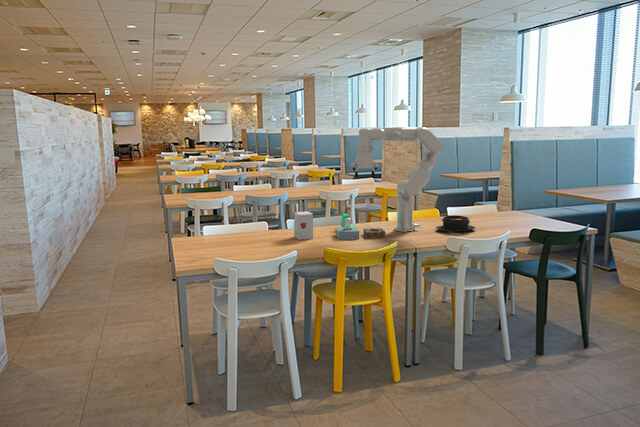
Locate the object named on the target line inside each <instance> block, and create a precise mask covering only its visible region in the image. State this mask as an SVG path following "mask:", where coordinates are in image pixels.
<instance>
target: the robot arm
mask: <svg viewBox="0 0 640 427" xmlns="http://www.w3.org/2000/svg"><path fill="white" fill-rule="evenodd" d="M372 141H374V142H375V141H376V142H381V141H391V142H399V143H400V142H409V143H410V142H418V143H419V142H421V144H423V157H422V159H421V160H420V161H418V163H417V164H416V165H415V166H414V168H412V170H411V171H410V173H409V178H410V179H401V180H400V181H399V182H397V185H396V193H397V194H396V196H397V205H396V206H397V208H396V213H397V214H396V226H395V227H394V231H395V232H401V233H402V232H403V233H408V232H407V231H411V232H414V231H415V228H420V227H421V224H420V223H414V222H413V221H414V220H413V218H414V217H413V215H414V212H413V211H414V197H415V196H416V195H418V194H419V193H420V192H421V190H423V188H424V187H425V186H426V185H427V184H428V183H429V182H430V180H431V177H432V176H431V171H432V169H433V168H434V167H435V166H436V163H437V160H438V155H441V154H442V152H443V151H444V144H443V143H442V142H441V140H440V139H439V138H438V137H437V136H436V135H435V134H434V133H433V132H432V131H430V129H429V128H426V127H422V126H421V127H419V126H418V127H415V126H414V127H407V126H406V127H403V126H402V127H399V126H398V127H388V128H387V127H384V128H383V127H381V128H380V127H374V128H361V129H359V130H358V151H357V152H356V158H355V161H354V162H352V163H350V167H351V169H352V170H353V172H354V177H355V179H358V177H359V175H358V174H359V172H358V171H359V170H360V169H361V170H362V169H363V170H364V169H369V170H371V178H372V179H374V177H375V173H376V171H377V170H378V168H379V166H380V163H378V162H376V161H374V155H373V154H374V153H373V150H375V149H374V148H375V147H372ZM374 165H375V167H374ZM354 166H356V167H354ZM413 230H414V231H413Z"/></svg>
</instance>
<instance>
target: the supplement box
mask: <svg viewBox="0 0 640 427" xmlns="http://www.w3.org/2000/svg"><path fill="white" fill-rule="evenodd" d="M293 218H294V219H293V221H294V222H293V227H294V228H293V237H294V238H295V239H297V240H299V241H300V240H301V241H303V240H302V239H304V240H311V239H314V213H312V212H311V211H295V212H293Z"/></svg>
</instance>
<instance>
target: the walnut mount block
mask: <svg viewBox="0 0 640 427" xmlns="http://www.w3.org/2000/svg"><path fill="white" fill-rule="evenodd" d="M363 235H364V236H365V238H366V239H386V231H385V229H383V228H381V227H373V228H372V227H370V228H367V227H366V228H363Z"/></svg>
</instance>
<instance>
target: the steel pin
mask: <svg viewBox="0 0 640 427" xmlns="http://www.w3.org/2000/svg"><path fill="white" fill-rule="evenodd" d="M351 224H352V223H351V217H349V218H345V230H350V227H351Z"/></svg>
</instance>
